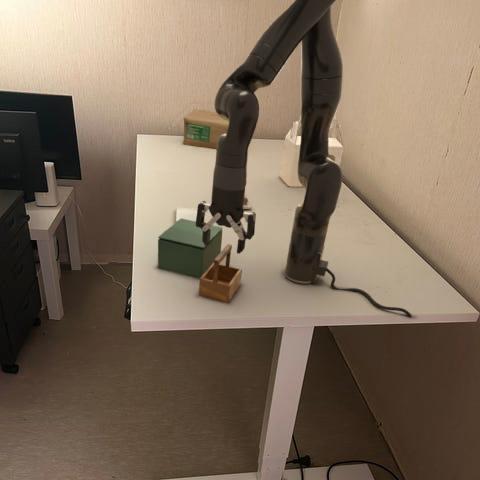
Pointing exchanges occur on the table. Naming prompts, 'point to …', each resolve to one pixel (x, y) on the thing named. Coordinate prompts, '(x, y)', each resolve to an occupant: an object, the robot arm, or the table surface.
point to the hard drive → (186, 214)
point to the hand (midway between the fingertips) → (223, 248)
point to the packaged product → (246, 204)
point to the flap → (194, 227)
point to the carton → (187, 252)
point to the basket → (220, 278)
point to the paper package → (204, 128)
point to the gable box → (293, 148)
